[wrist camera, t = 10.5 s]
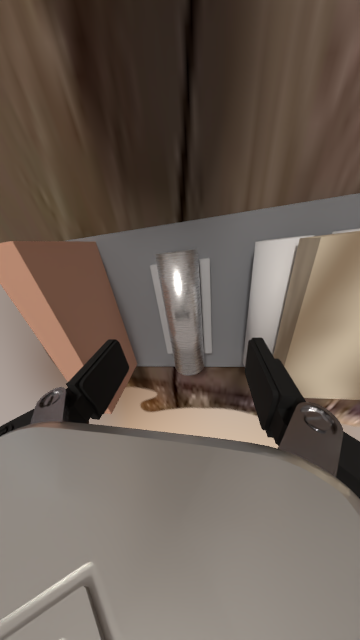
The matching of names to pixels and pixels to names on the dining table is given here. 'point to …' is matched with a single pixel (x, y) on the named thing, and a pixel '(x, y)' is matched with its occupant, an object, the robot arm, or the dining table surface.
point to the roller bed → (145, 291)
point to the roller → (183, 307)
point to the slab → (323, 318)
